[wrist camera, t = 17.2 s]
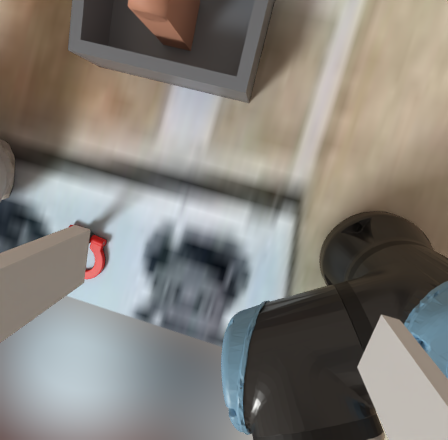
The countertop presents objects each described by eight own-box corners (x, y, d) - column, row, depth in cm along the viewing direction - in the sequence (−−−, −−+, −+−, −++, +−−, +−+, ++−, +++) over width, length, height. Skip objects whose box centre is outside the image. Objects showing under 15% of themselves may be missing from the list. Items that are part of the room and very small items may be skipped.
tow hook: (100, 283, 51) (112, 240, 48) (46, 328, 39) (58, 274, 36) (59, 264, 51) (69, 220, 49) (-7, 303, 39) (0, 248, 36)
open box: (279, -19, 36) (282, -59, 29) (248, 103, 40) (245, 92, 33) (113, -53, 38) (80, -98, 31) (99, 66, 42) (68, 50, 35)
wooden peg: (200, 1, 37) (170, -68, 25) (190, 51, 38) (158, 7, 27) (171, -5, 37) (129, -76, 26) (163, 44, 39) (120, -2, 27)
